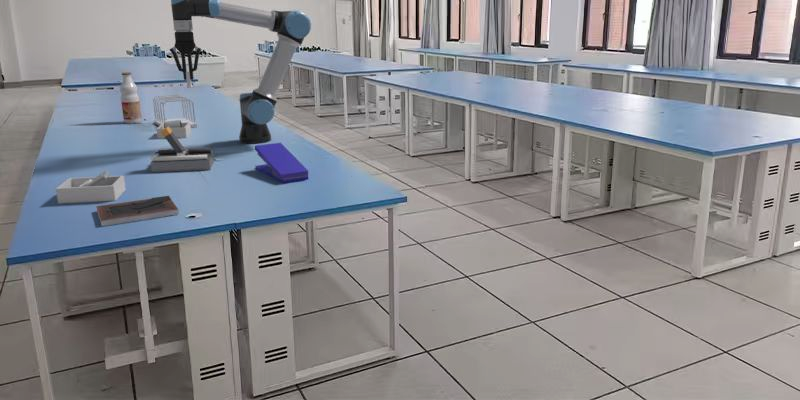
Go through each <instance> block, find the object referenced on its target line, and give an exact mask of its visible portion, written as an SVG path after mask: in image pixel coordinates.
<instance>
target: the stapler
mask: <svg viewBox="0 0 800 400" xmlns="http://www.w3.org/2000/svg"><path fill="white" fill-rule="evenodd" d="M254 150H255V151H256V152H257V156H259V157H260V159H262V161H263V162H264V163H265V164H259V165H255V166H254V167H255V169H257V170H258V171H259V172H262V173H264V174H266V175H268V176H269V177H271V178H273V179H275V180H276V181H279V182H280V183H282V184H285V183H286V184H287V183H293V182H299V181H300V182H301V181H305V180H306V181H307V180H309V170H308V169H307V168H306V167H305V165H303V164H302V163H301V162H300V160H298V159H297V158H296V157H295V155H293V153H292V152H290V150H288V149H287V147H286V146H285V145H284V144H283V143H282V142H276V143H268V144H267V143H266V144H257V145H254Z"/></svg>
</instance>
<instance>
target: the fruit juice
mask: <svg viewBox="0 0 800 400" xmlns="http://www.w3.org/2000/svg"><path fill="white" fill-rule="evenodd" d="M121 76H122V81H121V84H120V86H119V91H120V94H121V96H120V101H121V102H120V103H121V107H122V108H121V110H122V116H123V121H124V122H123V123H124V124H127V125H128V124H129V125H133V124H139V123H142V122H143V121H142V120H143V119H142V111H141V103H140V97H139V94H138V86H137V85H136V83H135V82H134V81H133V77H132V72H130V71H129V72H128V71H126V72H125V71H124V72H121Z"/></svg>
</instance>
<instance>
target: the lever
mask: <svg viewBox="0 0 800 400" xmlns="http://www.w3.org/2000/svg"><path fill="white" fill-rule="evenodd" d="M161 133H162V135H163V136H164V137H165V138H166V139H165V140H166V141H167V142H168V144H169V145H170V147H172V149H174V150H175V152H176V153H180V152H181V151H183V149H184V148H185V147H184V146H183V144H182V143H181V142H180V140H179V138H176V136H175V135H174V134H173V132H172V130H171V129H170V127H169V126H168V127H167V128H165V129H163V130H162V131H161ZM182 153H185V154H186V151H183V152H182Z"/></svg>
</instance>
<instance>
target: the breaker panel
mask: <svg viewBox="0 0 800 400" xmlns="http://www.w3.org/2000/svg"><path fill="white" fill-rule="evenodd" d="M188 149H189V147H184V149H183V151H186V154H185V153H182V152H183V151H181V153H177V154H158V153H157V154H156V156H155V157H165V156H188V155H207V159H202V160H179V161H156V162H153V161H152V160H151V161H150V172H151V174H152V173H169V172H170V173H171V172H173V173H174V172H191V171H211V170H212V167H213V165H214V162H215V161H216V159H215V152H214V150H213V151H212V150H211V152H204V153H189V150H188Z"/></svg>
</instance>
